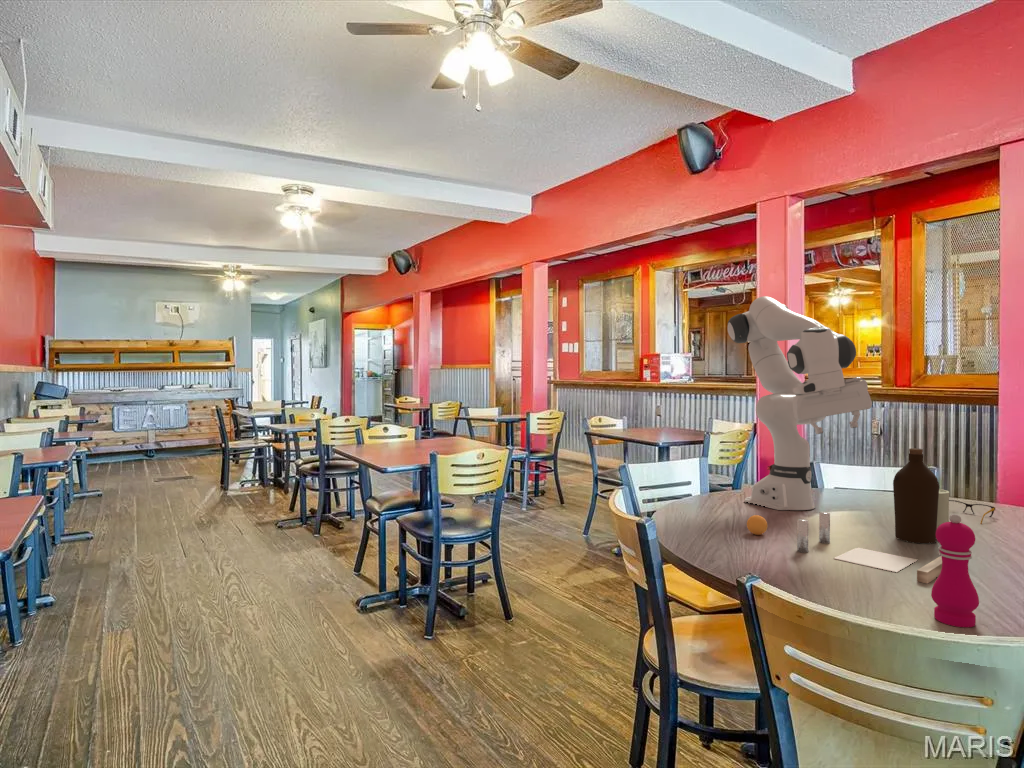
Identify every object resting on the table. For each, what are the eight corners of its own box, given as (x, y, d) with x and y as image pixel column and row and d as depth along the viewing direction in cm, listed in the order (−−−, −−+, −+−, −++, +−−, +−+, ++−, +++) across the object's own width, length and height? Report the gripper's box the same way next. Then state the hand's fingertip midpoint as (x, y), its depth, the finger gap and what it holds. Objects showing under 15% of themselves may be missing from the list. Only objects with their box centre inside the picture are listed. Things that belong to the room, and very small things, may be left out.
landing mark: (833, 558, 152) (833, 558, 152) (857, 548, 161) (857, 547, 161) (896, 572, 141) (896, 571, 141) (918, 560, 150) (918, 559, 150)
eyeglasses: (996, 518, 194) (996, 506, 194) (981, 526, 185) (981, 512, 185) (943, 510, 205) (943, 498, 205) (926, 517, 196) (927, 504, 196)
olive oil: (923, 546, 162) (924, 452, 161) (884, 537, 171) (884, 448, 171) (947, 541, 167) (948, 449, 166) (907, 532, 176) (908, 445, 176)
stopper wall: (916, 581, 136) (917, 570, 136) (946, 562, 148) (946, 552, 148) (927, 583, 134) (927, 572, 134) (956, 564, 147) (956, 554, 147)
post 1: (795, 550, 159) (795, 520, 159) (800, 549, 161) (800, 518, 160) (805, 553, 157) (805, 522, 157) (810, 551, 159) (810, 520, 158)
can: (955, 534, 174) (956, 492, 174) (919, 532, 176) (919, 491, 175) (940, 526, 183) (940, 486, 183) (905, 525, 185) (906, 485, 184)
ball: (742, 534, 176) (743, 515, 175) (753, 530, 179) (753, 512, 179) (761, 538, 171) (761, 518, 171) (771, 534, 175) (771, 515, 175)
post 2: (817, 542, 167) (817, 512, 167) (821, 540, 169) (821, 511, 168) (827, 544, 165) (827, 514, 165) (831, 542, 167) (831, 513, 166)
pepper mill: (931, 610, 119) (931, 508, 119) (977, 618, 115) (978, 512, 115) (930, 623, 113) (931, 515, 113) (980, 632, 109) (980, 520, 109)
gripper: (860, 376, 176) (870, 423, 176) (786, 389, 179) (796, 436, 178) (870, 375, 170) (880, 424, 169) (793, 389, 173) (803, 437, 172)
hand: (836, 430), depth 174 cm, fingers open, 8 cm apart
